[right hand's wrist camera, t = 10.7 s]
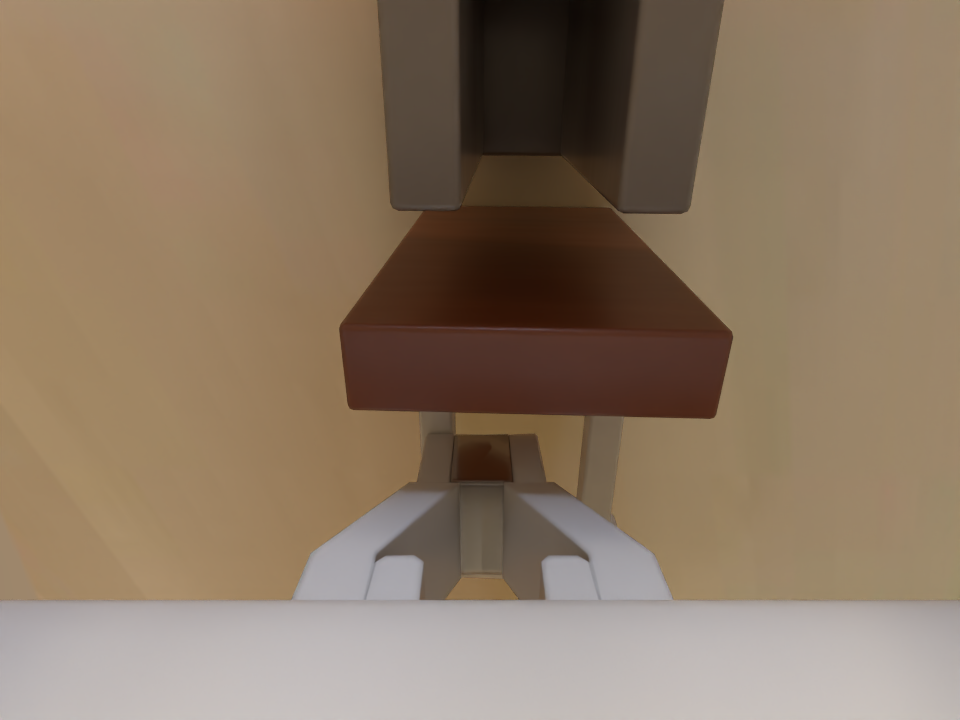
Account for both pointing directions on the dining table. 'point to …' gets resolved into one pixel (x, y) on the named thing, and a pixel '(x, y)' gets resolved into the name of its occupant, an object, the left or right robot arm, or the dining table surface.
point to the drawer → (540, 221)
